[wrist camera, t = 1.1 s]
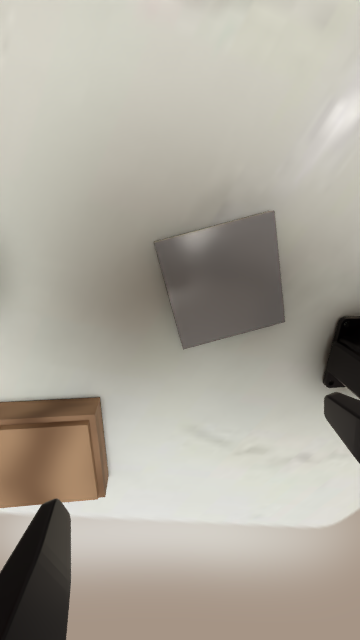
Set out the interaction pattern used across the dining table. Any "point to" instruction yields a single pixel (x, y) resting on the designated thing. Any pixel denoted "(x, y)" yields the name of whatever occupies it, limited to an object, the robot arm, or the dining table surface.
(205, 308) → the slate coaster
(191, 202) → the dining table surface
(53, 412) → the plinth
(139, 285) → the dining table surface
